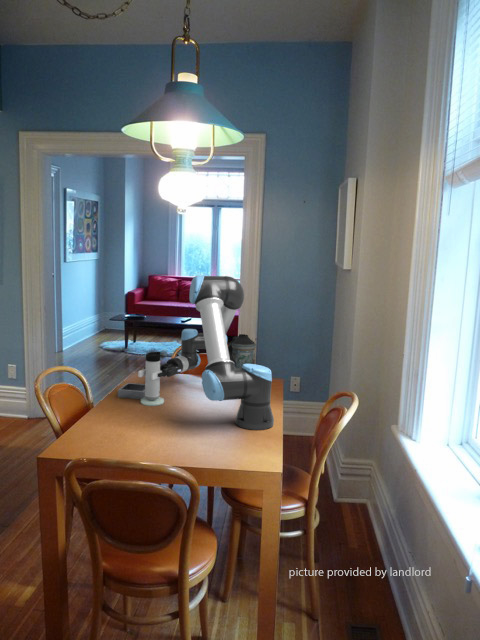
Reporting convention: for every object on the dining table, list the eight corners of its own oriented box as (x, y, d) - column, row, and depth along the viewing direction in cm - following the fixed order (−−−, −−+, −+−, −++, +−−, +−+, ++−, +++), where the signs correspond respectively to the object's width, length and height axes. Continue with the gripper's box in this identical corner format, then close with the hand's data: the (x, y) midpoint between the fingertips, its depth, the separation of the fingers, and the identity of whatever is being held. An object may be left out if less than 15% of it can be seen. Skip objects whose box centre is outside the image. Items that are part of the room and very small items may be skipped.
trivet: (160, 406, 214) (160, 404, 214) (137, 404, 215) (137, 402, 215) (166, 400, 224) (166, 397, 223) (145, 398, 225) (145, 395, 225)
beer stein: (250, 389, 246) (252, 339, 242) (215, 383, 254) (217, 335, 250) (263, 382, 261) (265, 335, 257) (229, 377, 269) (231, 330, 265)
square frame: (143, 399, 223) (143, 391, 222) (117, 397, 224) (117, 389, 224) (151, 392, 235) (152, 384, 234) (127, 390, 236) (127, 382, 236)
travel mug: (163, 397, 219) (164, 353, 216) (150, 400, 215) (151, 354, 212) (154, 394, 224) (155, 350, 221) (142, 397, 219) (142, 352, 216)
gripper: (194, 376, 229) (163, 387, 209) (160, 370, 238) (127, 380, 218) (194, 360, 228) (164, 370, 208) (160, 354, 237) (127, 363, 217)
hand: (145, 375), depth 213 cm, fingers closed on travel mug, 6 cm apart
